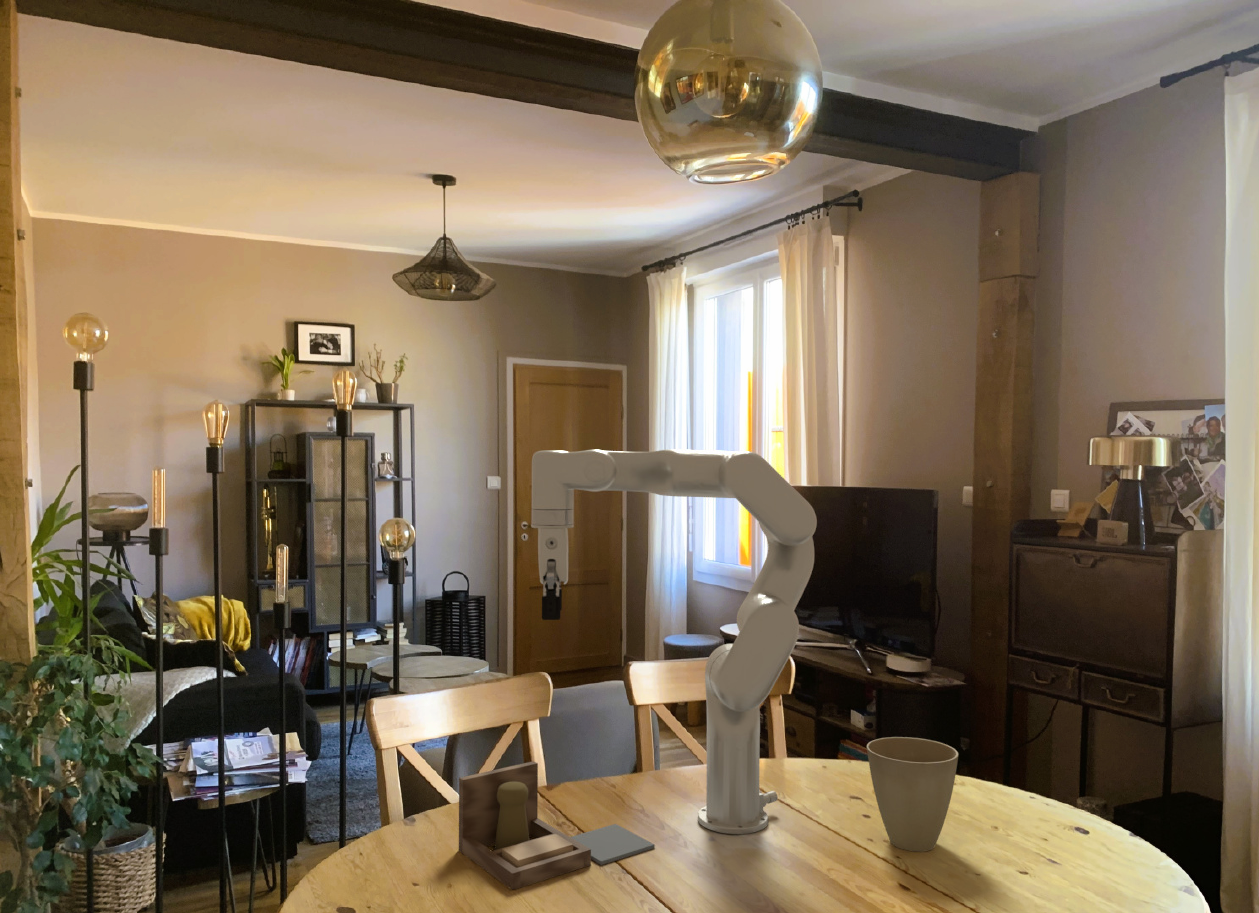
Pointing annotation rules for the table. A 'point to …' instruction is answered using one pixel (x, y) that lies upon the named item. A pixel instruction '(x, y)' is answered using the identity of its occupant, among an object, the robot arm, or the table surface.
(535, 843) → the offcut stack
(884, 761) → the plant pot
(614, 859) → the slate mat
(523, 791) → the olive pawn
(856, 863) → the table surface
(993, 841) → the table surface
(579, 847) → the open walnut box
